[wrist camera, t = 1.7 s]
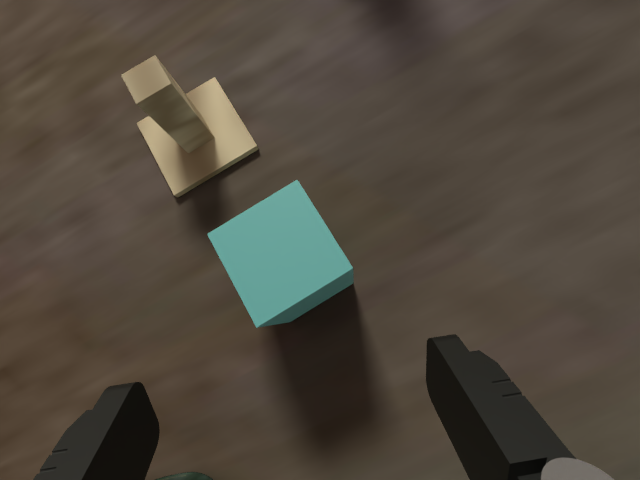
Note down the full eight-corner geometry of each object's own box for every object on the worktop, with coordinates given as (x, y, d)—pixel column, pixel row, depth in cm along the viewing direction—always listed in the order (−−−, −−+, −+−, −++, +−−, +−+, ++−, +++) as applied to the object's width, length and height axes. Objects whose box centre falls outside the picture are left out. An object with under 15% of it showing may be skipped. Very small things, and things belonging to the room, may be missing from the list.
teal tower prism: (315, 222, 27) (297, 179, 18) (353, 283, 25) (353, 268, 17) (255, 259, 27) (207, 233, 18) (290, 322, 25) (256, 327, 17)
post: (217, 81, 30) (173, 7, 23) (258, 149, 29) (225, 92, 21) (140, 126, 30) (71, 66, 23) (177, 197, 28) (115, 157, 21)
